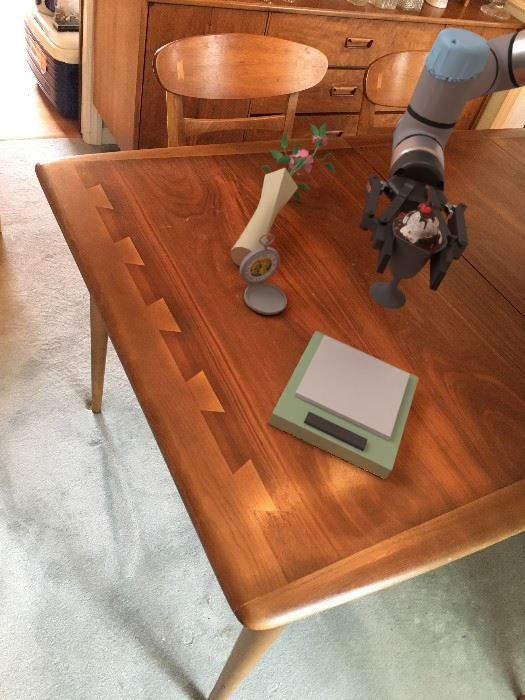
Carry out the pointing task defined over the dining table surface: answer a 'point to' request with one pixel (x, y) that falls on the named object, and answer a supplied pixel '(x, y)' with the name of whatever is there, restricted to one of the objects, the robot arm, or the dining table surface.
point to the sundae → (409, 252)
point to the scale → (347, 404)
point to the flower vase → (277, 193)
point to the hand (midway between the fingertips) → (410, 272)
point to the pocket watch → (259, 293)
